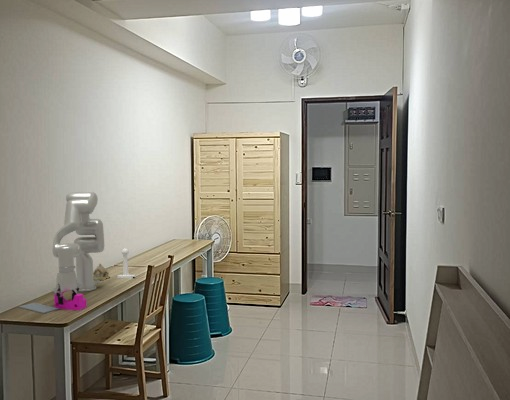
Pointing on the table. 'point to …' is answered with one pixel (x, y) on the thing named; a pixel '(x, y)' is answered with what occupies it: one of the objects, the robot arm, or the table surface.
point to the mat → (39, 308)
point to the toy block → (71, 303)
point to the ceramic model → (100, 273)
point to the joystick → (125, 265)
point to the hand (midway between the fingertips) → (67, 302)
